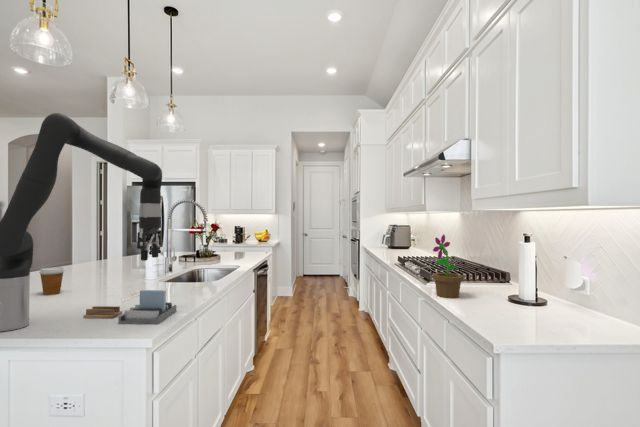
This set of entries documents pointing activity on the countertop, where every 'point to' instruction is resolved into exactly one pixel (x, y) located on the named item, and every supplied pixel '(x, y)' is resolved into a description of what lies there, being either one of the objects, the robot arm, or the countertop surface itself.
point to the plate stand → (102, 312)
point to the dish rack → (146, 315)
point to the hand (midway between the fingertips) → (149, 258)
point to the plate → (153, 299)
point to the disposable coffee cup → (51, 280)
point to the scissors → (130, 296)
